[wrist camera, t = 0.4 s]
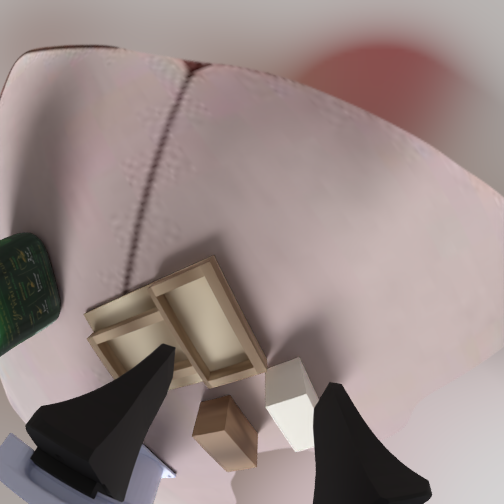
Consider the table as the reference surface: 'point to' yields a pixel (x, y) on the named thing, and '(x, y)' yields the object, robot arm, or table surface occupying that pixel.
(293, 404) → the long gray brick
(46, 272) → the coffee jar
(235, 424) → the tall wooden block
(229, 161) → the table surface
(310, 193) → the table surface
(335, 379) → the table surface
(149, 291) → the jig
